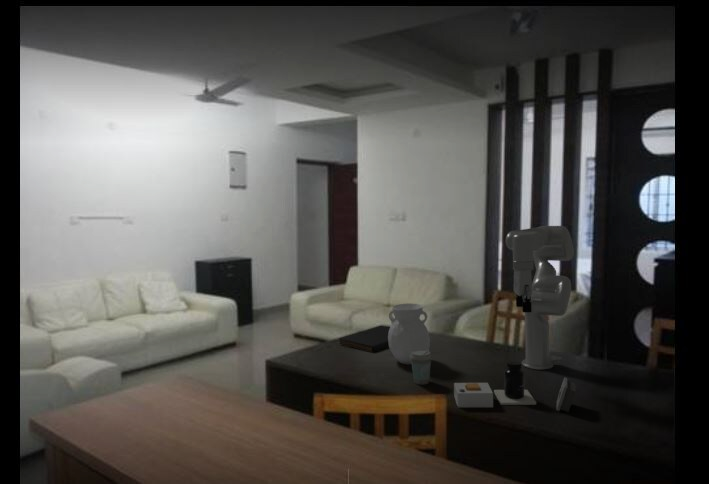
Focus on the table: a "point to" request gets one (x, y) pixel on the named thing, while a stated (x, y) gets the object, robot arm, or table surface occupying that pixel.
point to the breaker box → (473, 396)
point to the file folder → (368, 339)
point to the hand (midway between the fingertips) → (523, 309)
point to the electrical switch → (565, 395)
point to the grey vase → (407, 331)
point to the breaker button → (472, 386)
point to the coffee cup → (421, 366)
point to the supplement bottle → (514, 380)
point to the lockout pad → (510, 401)
